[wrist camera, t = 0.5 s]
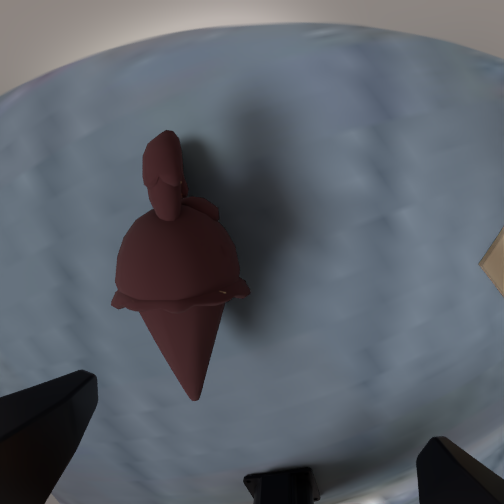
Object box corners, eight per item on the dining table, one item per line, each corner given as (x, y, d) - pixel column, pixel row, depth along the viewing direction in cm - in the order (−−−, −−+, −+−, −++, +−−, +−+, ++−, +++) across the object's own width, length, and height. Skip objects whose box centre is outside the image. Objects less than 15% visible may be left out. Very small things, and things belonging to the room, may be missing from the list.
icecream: (268, 426, 15) (252, 118, 13) (129, 439, 14) (79, 133, 11) (245, 366, 22) (231, 145, 19) (142, 376, 21) (114, 155, 18)
